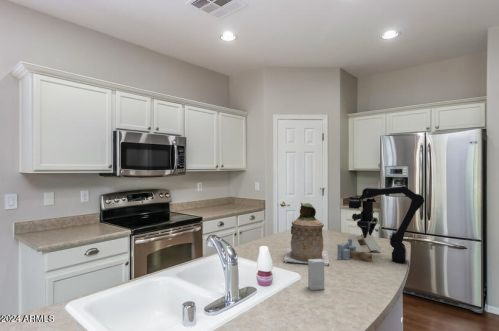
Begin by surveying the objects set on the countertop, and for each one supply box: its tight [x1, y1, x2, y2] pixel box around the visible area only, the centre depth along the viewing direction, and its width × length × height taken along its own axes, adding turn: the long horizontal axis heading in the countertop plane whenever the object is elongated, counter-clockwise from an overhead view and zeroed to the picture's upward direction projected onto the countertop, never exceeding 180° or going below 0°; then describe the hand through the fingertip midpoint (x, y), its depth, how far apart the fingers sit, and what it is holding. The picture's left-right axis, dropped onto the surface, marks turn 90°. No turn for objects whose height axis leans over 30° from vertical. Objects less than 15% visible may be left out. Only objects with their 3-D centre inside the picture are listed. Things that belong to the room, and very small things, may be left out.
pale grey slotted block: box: [347, 232, 381, 253], centre depth 190 cm, size 16×9×15 cm
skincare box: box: [307, 259, 325, 291], centre depth 129 cm, size 6×4×12 cm
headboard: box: [336, 238, 356, 261], centre depth 174 cm, size 5×18×9 cm, turn 141°
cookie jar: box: [283, 202, 330, 267], centre depth 171 cm, size 25×25×32 cm
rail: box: [350, 250, 373, 263], centre depth 170 cm, size 13×4×4 cm, turn 51°
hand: (367, 236), depth 173 cm, fingers open, 9 cm apart
